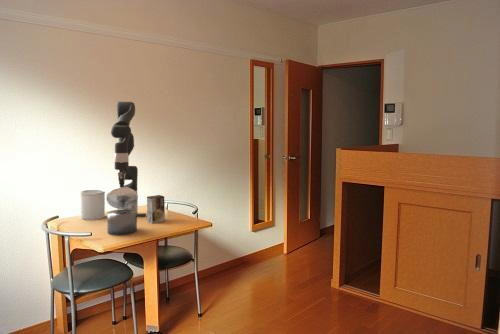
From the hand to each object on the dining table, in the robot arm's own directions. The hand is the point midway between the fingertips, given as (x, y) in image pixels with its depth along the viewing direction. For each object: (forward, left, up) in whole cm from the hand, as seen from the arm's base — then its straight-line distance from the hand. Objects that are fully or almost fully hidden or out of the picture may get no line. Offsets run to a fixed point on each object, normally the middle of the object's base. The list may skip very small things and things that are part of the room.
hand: (122, 191), depth 222 cm
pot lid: (-1, 0, -5) cm, 5 cm away
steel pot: (+2, +3, -23) cm, 23 cm away
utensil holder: (-36, -20, -23) cm, 47 cm away
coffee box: (-18, +19, -23) cm, 35 cm away
